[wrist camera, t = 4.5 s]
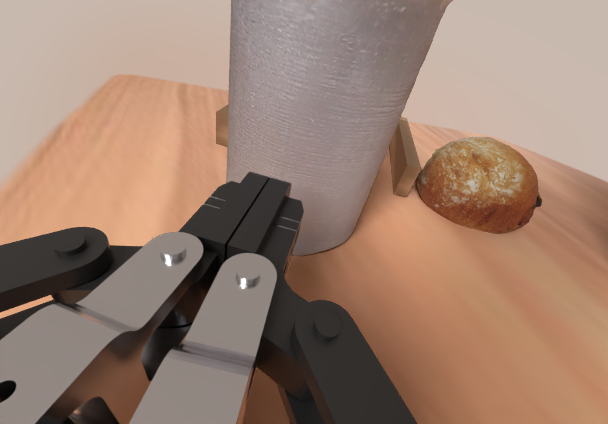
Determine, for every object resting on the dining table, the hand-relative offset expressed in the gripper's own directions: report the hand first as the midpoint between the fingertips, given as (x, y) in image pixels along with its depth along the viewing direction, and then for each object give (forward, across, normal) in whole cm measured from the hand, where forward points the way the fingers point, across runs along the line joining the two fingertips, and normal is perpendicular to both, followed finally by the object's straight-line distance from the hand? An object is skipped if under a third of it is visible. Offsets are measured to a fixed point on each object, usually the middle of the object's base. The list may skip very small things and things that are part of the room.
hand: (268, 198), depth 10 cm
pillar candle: (+8, 0, +7) cm, 11 cm away
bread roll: (+17, -15, +7) cm, 24 cm away
